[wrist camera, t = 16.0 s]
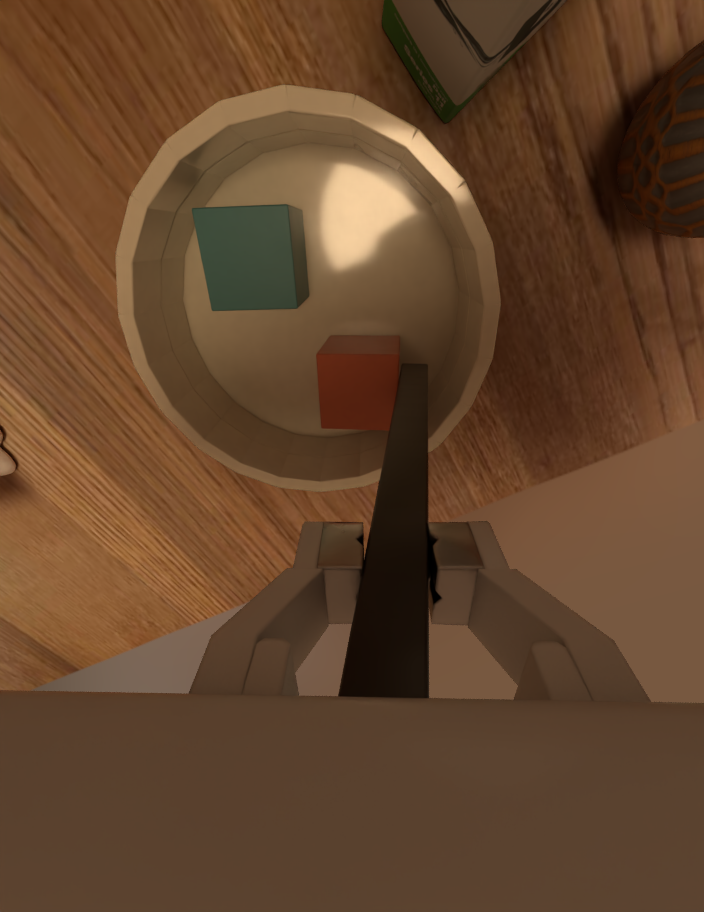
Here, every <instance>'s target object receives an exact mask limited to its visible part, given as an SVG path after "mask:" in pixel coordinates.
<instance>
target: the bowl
mask: <svg viewBox="0 0 704 912" xmlns="http://www.w3.org/2000/svg"><path fill="white" fill-rule="evenodd" d="M278 204H288V205H290V206H293V207H295V208H298V209H300V210H302V211H303V223H304V235H305V248H306V260H307V273H308V285H309V297H308V298H307V299H306V300H305V301H304V302H303V303H302V304H301V305H300V306H299V307H298V308H297V309H271V310H235V311H212V309H211V304H210V299H209V294H208V289H207V284H206V279H205V274H204V269H203V264H202V259H201V254H200V249H199V244H198V239H197V234H196V229H195V224H194V219H193V214H192V208H204V207H228V206H253V205H278ZM115 254H116V255H117V256H116V281H117V304H118V313H119V314H118V317H119V320H120V323H121V326H122V329H123V333H124V336H125V339H126V342H127V345H128V348H129V352H130V355H131V358H132V361H133V364H134V367H135V369H136V371H137V372H138V374H139V376H140V377H141V379H142V380H143V382H144V384H145V385H146V387H147V389H148V390H149V392H150V394H151V395H152V397H153V399H154V400H155V402H156V403H157V405H158V407H159V408H160V410H161V411H162V412H163V414H164V415H165V416H166V417H167V418H168V419H169V420H170V421H171V422H172V423H173V424H174V425H175V426H176V427H177V428H178V429H179V430H180V431H181V432H182V433H183V434H184V435H185V436H186V437H187V438H188V439H189V440H190V441H191V442H192V443H193V444H194V445H195V446H197V448H198V449H200V450H201V451H203V452H205V453H206V454H208V455H209V456H211V457H212V458H214V459H216V460H217V461H219V462H220V463H222V464H223V465H225V466H226V467H228V468H230V469H231V470H233V471H234V472H236V473H239V474H242V475H244V476H247V477H250V478H253V479H256V480H258V481H261V482H264V483H267V484H270V485H272V486H275V487H279V488H288V489H297V490H306V491H315V492H325V491H333V490H341V489H349V488H357V487H363V486H367V485H369V484H372V483H375V482H377V481H379V480H380V475H381V470H382V465H383V459H384V454H385V449H386V444H387V439H388V433H389V431H385V430H353V429H322V428H321V419H320V404H319V390H318V376H317V362H316V354H317V353H318V351H319V350H320V348H321V347H322V346H323V344H324V343H325V342H326V340H327V339H328V338H329V336H331V335H370V336H400V361H399V376H400V371H401V365H402V364H403V363H413V364H428V453H430V452H431V451H432V450H434V449H435V448H437V447H438V446H439V445H440V444H441V443H442V442H443V441H444V440H445V439H446V437H447V436H448V435H449V434H450V433H451V431H452V430H453V429H454V428H455V426H456V425H457V424H458V423H459V422H460V420H461V419H462V418H463V417H464V416H465V414H466V413H467V412H468V411H469V409H470V408H471V406H472V405H473V402H474V400H475V398H476V396H477V393H478V391H479V389H480V387H481V385H482V382H483V380H484V378H485V376H486V373H487V371H488V369H489V367H490V364H491V362H492V359H493V355H494V348H495V341H496V335H497V328H498V321H499V315H500V308H501V304H500V303H501V297H500V290H499V282H498V275H497V267H496V260H495V252H494V245H493V242H492V238H491V236H490V234H489V231H488V229H487V227H486V225H485V223H484V220H483V218H482V216H481V214H480V211H479V209H478V207H477V205H476V203H475V200H474V198H473V196H472V194H471V191H470V189H469V187H468V185H467V183H466V181H465V180H464V178H463V177H462V176H461V175H460V174H459V172H458V171H457V170H456V169H455V168H454V167H453V166H452V165H451V164H450V162H449V161H448V160H447V159H446V158H445V157H444V156H443V155H442V154H441V152H440V151H439V150H438V149H437V148H436V147H435V146H434V145H433V144H432V142H431V141H430V140H429V139H428V138H427V137H426V136H425V135H424V134H423V132H422V131H421V130H420V129H417V127H415V126H414V125H412V124H410V123H408V122H406V121H404V120H403V119H401V118H399V117H397V116H395V115H394V114H392V113H390V112H388V111H386V110H384V109H383V108H381V107H379V106H377V105H375V104H373V103H372V102H370V101H368V100H366V99H364V98H363V97H361V96H359V95H356V96H355V94H353V93H347V92H339V91H332V90H325V89H318V88H310V87H303V86H296V85H285V84H283V85H279V86H275V87H271V88H267V89H263V90H259V91H255V92H251V93H247V94H243V95H240V96H236V97H232V98H228V99H224V100H220V101H219V102H216V103H215V104H214V105H212V106H211V107H210V108H208V109H207V110H206V111H204V112H203V113H202V114H200V115H199V116H198V117H196V118H195V119H193V120H192V121H191V122H189V123H188V124H187V125H185V126H184V127H183V128H181V129H180V130H179V131H177V132H176V133H174V134H173V135H172V136H170V137H169V138H168V139H166V142H164V144H163V145H162V147H161V148H160V150H159V152H158V153H157V155H156V156H155V158H154V159H153V161H152V162H151V164H150V166H149V167H148V169H147V170H146V172H145V173H144V175H143V176H142V178H141V179H140V181H139V183H138V184H137V186H136V187H135V189H134V190H133V192H132V194H131V196H130V198H129V202H128V206H127V210H126V214H125V218H124V222H123V226H122V230H121V233H120V237H119V241H118V245H117V249H116V253H115Z"/></svg>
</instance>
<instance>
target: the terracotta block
mask: <svg viewBox="0 0 704 912" xmlns="http://www.w3.org/2000/svg"><path fill="white" fill-rule="evenodd" d="M399 361H400V336H370V335H331V336H329V338H328V339H327V340H326V342H325V343H324V344H323V346H322V347H321V348H320V350H319V351H318V353H317V354H316V362H317V376H318V390H319V404H320V419H321V428H322V429H353V430H385V431H389V428H390V423H391V418H392V412H393V407H394V402H395V397H396V392H397V386H398V381H399Z"/></svg>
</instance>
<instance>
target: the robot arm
mask: <svg viewBox="0 0 704 912" xmlns="http://www.w3.org/2000/svg"><path fill="white" fill-rule="evenodd" d="M426 524H427V530H428V551H429V610H430V616H431V622H432V624H445V625H468V628H469V629H470V630H471V631H472V632H473V634H474V635H475V636H476V637H477V638H478V639H479V641H480V642H481V643H482V644H483V645H484V646H485V648H486V649H487V650H488V651H489V652H490V653H491V655H492V656H493V657H494V658H495V659H496V661H497V662H498V663H499V664H500V665H501V666H502V667H503V669H504V670H505V671H506V672H507V673H508V675H509V676H510V677H511V678H512V679H513V681H514V682H515V683H516V684H517V685H518V688H517V691H516V694H515V697H514V700H495V699H442V698H441V699H440V698H391V697H339V696H299V693H298V687H297V682H296V675H295V672H296V671H297V670H298V668H299V667H300V665H301V664H302V663H303V661H304V660H305V658H306V657H307V656H308V654H309V653H310V651H311V650H312V648H313V647H314V646H315V644H316V643H317V642H318V640H319V639H320V637H321V636H322V634H323V633H324V632H325V630H326V629H327V627H328V624H352V621H353V616H354V611H355V606H356V600H357V595H358V590H359V585H360V580H361V576H362V572H363V564H364V533H363V522H304V524H303V525H302V530H301V534H300V539H299V543H298V548H297V552H296V556H295V561H294V565H293V568H287V569H286V570H284V571H283V572H282V573H281V574H280V575H279V576H278V577H277V578H275V579H274V580H273V581H272V582H271V583H270V584H269V585H268V586H266V587H265V588H264V589H263V590H262V591H261V592H260V593H259V594H258V595H256V596H255V597H254V598H253V599H252V600H251V601H250V602H249V603H247V604H246V605H245V606H244V607H243V608H242V609H241V610H240V611H239V612H237V613H236V614H235V615H234V616H233V617H232V618H231V619H229V620H228V621H227V622H226V623H225V624H224V625H223V626H222V627H221V628H219V629H218V630H217V631H216V632H215V633H214V634H213V635H212V636H211V639H210V641H209V643H208V646H207V648H206V651H205V653H204V656H203V659H202V661H201V663H200V666H199V669H198V671H197V674H196V676H195V679H194V681H193V684H192V686H191V689H190V691H189V694H175V693H121V692H64V691H13V690H0V912H704V703H672V702H668V703H666V702H651V701H650V699H649V697H648V696H647V694H646V693H645V691H644V689H643V688H642V686H641V684H640V683H639V681H638V680H637V678H636V676H635V675H634V673H633V671H632V670H631V668H630V667H629V665H628V663H627V661H626V660H625V658H624V657H623V655H622V653H621V652H620V650H619V649H618V647H617V645H616V643H615V642H614V640H612V639H611V638H609V637H608V636H607V635H605V634H604V633H603V632H601V631H600V630H599V629H597V628H596V627H594V626H593V625H592V624H590V623H589V622H587V621H586V620H585V619H583V618H582V617H581V616H579V615H578V614H577V613H575V612H574V611H573V610H571V609H570V608H569V607H567V606H566V605H564V604H563V603H562V602H560V601H559V600H557V599H556V598H555V597H553V596H552V595H551V594H549V593H548V592H547V591H545V590H544V589H542V588H541V587H540V586H538V585H537V584H536V583H534V582H533V581H531V580H530V579H529V578H527V577H526V576H525V575H523V574H522V573H521V572H519V571H518V570H517V569H510V568H509V566H508V564H507V562H506V559H505V557H504V555H503V552H502V550H501V548H500V546H499V543H498V541H497V539H496V536H495V534H494V532H493V530H492V527H491V525H490V523H489V522H487V521H478V522H477V521H476V522H475V521H473V522H426Z"/></svg>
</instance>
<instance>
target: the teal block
mask: <svg viewBox="0 0 704 912" xmlns="http://www.w3.org/2000/svg"><path fill="white" fill-rule="evenodd" d="M192 214H193V219H194V224H195V229H196V234H197V239H198V244H199V249H200V254H201V259H202V264H203V269H204V274H205V279H206V284H207V289H208V294H209V299H210V304H211V309H212V311H235V310H271V309H297V308H298V307H299V306H300V305H301V304H302V303H303V302H304V301H305V300H306V299H307V298H308V297H309V285H308V273H307V260H306V248H305V235H304V223H303V211H302V210H300V209H298V208H295V207H293V206H290V205H288V204H278V205H253V206H228V207H204V208H192Z"/></svg>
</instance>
